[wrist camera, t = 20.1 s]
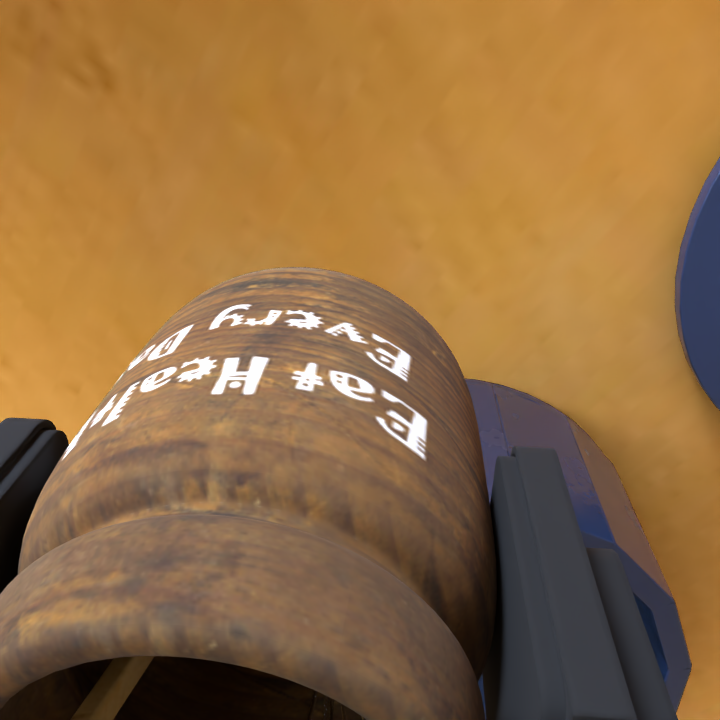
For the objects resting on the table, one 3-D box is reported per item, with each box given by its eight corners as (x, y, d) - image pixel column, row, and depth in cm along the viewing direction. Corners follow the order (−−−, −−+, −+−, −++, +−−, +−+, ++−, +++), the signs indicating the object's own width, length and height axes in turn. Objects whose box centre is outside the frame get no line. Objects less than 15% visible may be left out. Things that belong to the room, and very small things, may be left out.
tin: (248, 368, 28) (196, 491, 21) (658, 384, 28) (746, 517, 21) (267, 647, 36) (234, 806, 29) (589, 666, 35) (635, 833, 28)
